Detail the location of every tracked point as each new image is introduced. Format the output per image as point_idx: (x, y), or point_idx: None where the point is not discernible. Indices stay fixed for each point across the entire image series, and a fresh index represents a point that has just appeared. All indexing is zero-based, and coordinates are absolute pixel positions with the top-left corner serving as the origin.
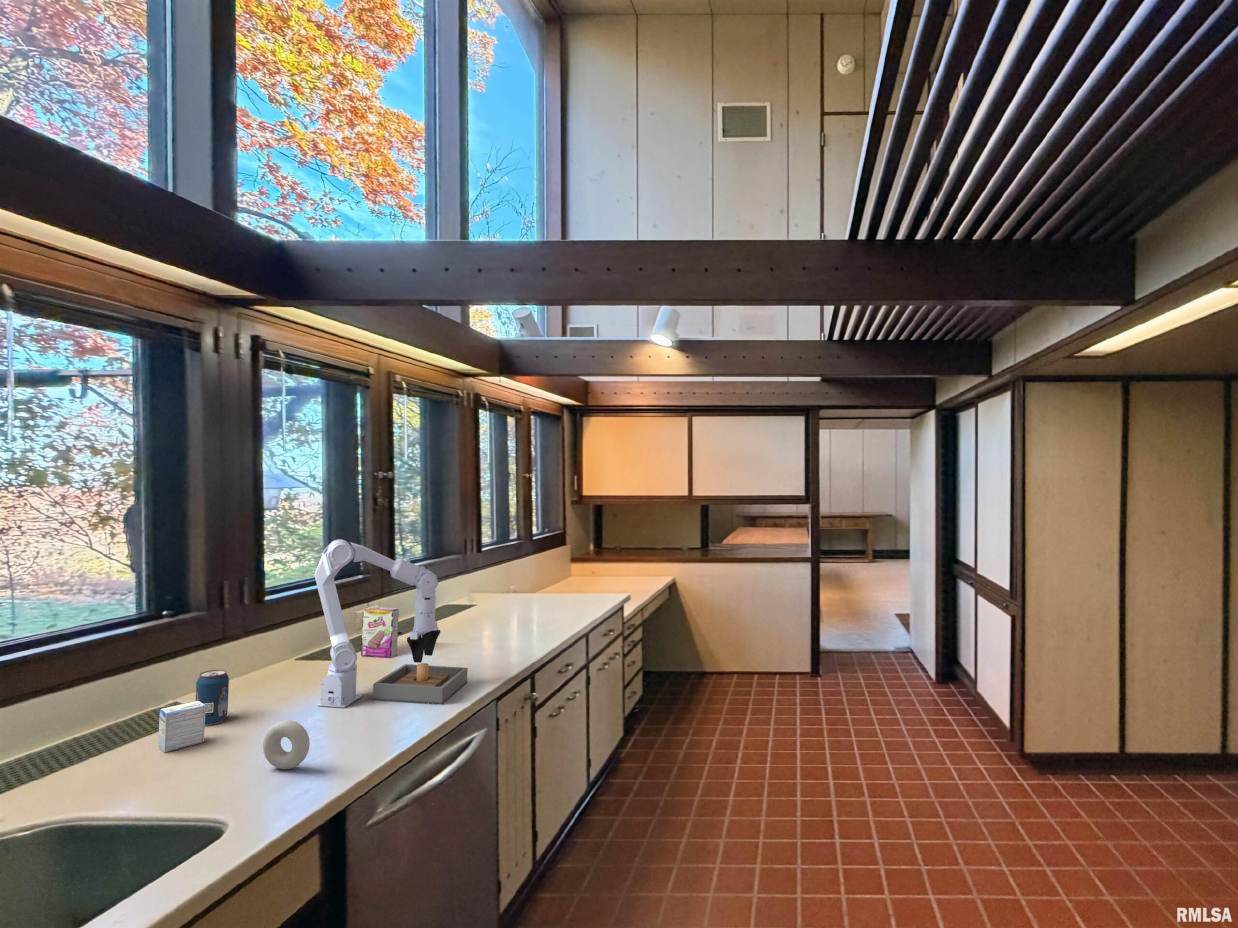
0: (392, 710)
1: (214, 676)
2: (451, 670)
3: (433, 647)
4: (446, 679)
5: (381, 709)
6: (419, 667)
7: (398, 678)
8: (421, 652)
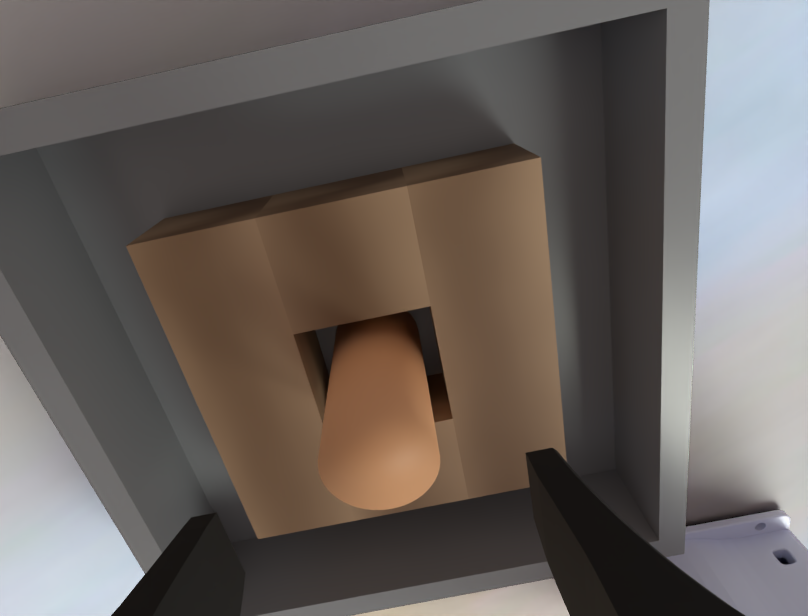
0: (793, 267)
1: None
2: (35, 291)
3: (159, 598)
4: (225, 218)
5: (780, 338)
6: (438, 451)
7: (342, 546)
8: (644, 545)
